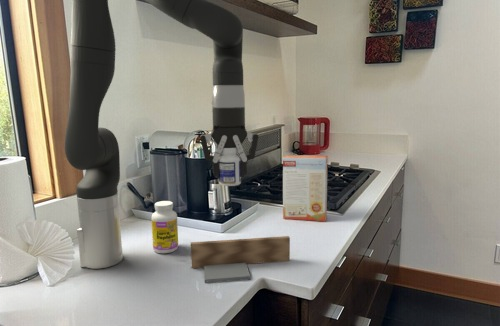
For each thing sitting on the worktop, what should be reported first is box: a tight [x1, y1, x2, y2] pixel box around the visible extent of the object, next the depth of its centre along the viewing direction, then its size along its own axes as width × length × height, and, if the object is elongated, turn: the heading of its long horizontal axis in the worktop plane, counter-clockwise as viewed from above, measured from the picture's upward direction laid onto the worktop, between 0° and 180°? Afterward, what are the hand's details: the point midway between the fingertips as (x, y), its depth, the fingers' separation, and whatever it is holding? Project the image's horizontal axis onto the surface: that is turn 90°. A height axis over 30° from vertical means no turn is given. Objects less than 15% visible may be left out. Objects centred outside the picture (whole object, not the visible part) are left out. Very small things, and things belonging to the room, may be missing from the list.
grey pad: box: [203, 263, 251, 284], centre depth 87 cm, size 10×7×1 cm
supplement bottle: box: [151, 200, 179, 254], centre depth 100 cm, size 7×7×13 cm
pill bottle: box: [218, 148, 242, 187], centre depth 89 cm, size 5×5×9 cm
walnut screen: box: [190, 235, 291, 269], centre depth 91 cm, size 24×1×6 cm, turn 98°
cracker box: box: [282, 154, 328, 222], centre depth 124 cm, size 14×6×21 cm, turn 74°
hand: (229, 176), depth 90 cm, fingers closed on pill bottle, 5 cm apart
